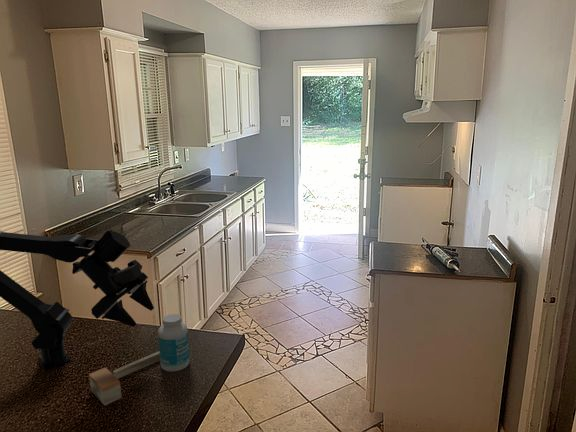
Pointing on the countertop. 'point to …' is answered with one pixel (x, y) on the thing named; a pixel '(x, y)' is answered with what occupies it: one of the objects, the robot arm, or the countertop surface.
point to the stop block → (105, 386)
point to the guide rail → (136, 365)
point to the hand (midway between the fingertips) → (144, 317)
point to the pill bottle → (173, 343)
